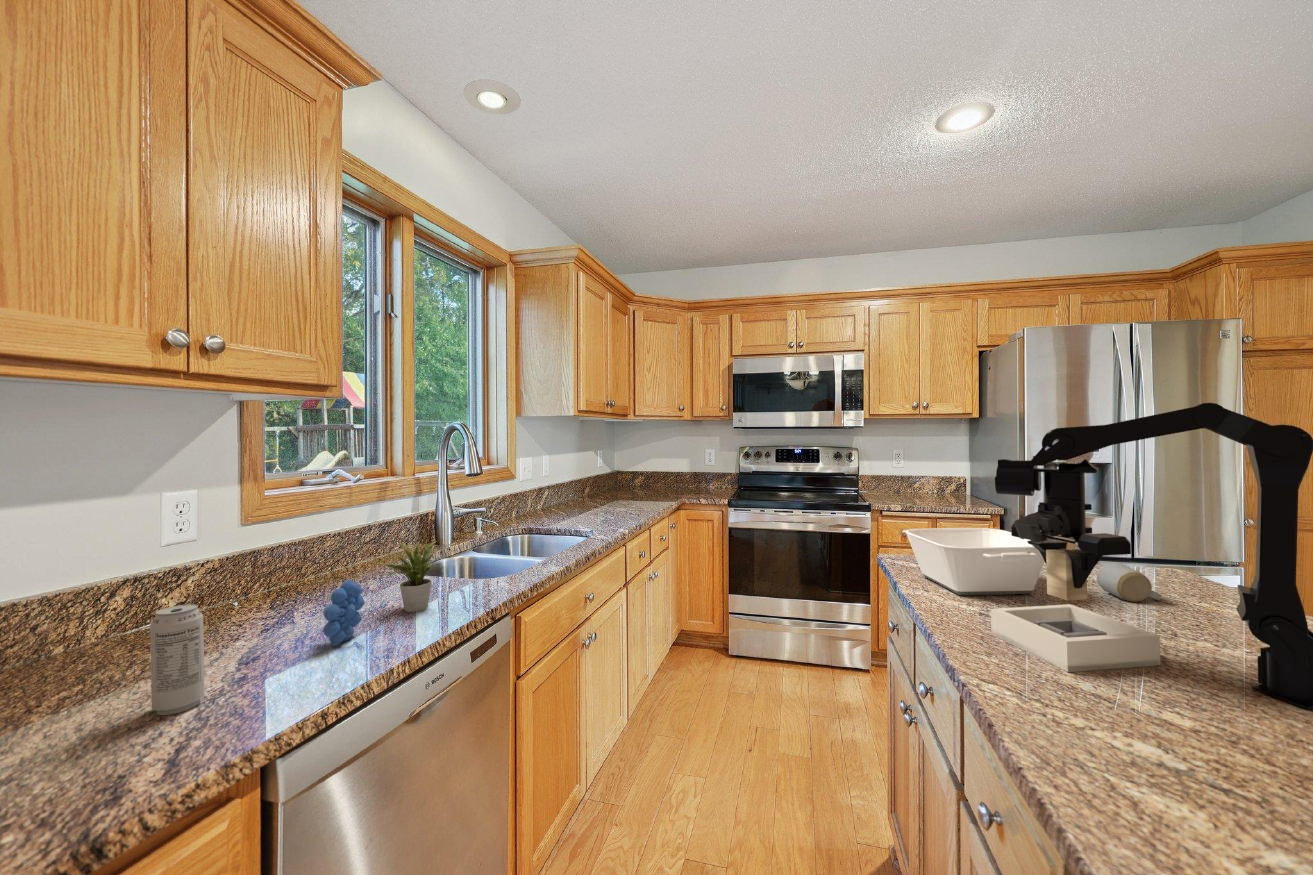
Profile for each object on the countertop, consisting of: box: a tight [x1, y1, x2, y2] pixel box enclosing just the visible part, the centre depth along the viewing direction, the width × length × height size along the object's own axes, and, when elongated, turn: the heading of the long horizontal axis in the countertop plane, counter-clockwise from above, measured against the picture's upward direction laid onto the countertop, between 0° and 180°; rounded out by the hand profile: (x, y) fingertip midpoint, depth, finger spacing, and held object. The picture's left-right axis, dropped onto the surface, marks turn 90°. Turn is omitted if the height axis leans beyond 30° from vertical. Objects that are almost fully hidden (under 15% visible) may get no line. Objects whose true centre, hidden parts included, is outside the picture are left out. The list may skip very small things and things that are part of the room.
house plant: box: [379, 540, 443, 613], centre depth 129 cm, size 14×14×16 cm
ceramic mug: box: [1096, 561, 1163, 603], centre depth 125 cm, size 11×8×8 cm
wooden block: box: [1045, 548, 1088, 601], centre depth 95 cm, size 4×4×8 cm
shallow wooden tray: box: [990, 603, 1161, 673], centre depth 96 cm, size 17×17×5 cm
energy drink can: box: [149, 603, 205, 716], centre depth 82 cm, size 6×6×15 cm
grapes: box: [322, 579, 366, 646], centre depth 108 cm, size 12×7×12 cm, turn 179°
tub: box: [904, 527, 1045, 596], centre depth 137 cm, size 34×27×13 cm
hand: (1066, 584), depth 95 cm, fingers closed on wooden block, 4 cm apart
